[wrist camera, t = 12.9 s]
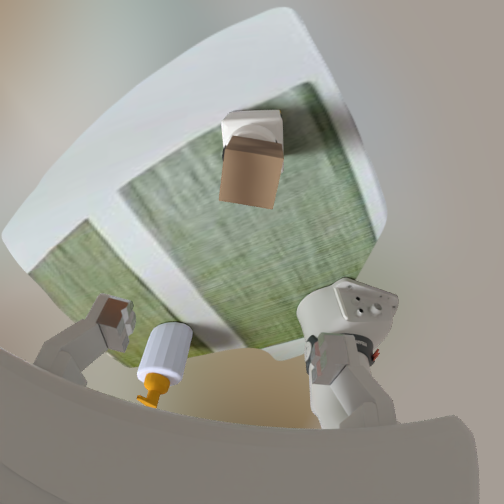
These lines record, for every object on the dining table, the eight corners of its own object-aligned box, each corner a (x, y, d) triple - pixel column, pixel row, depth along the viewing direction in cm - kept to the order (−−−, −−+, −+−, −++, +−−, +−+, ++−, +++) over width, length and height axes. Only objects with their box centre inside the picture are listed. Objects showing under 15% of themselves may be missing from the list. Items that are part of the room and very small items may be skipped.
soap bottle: (178, 315, 62) (155, 394, 46) (201, 335, 66) (185, 411, 50) (143, 330, 67) (119, 399, 51) (165, 347, 71) (147, 415, 55)
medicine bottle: (282, 156, 40) (285, 190, 30) (232, 158, 41) (219, 191, 31) (280, 109, 36) (284, 125, 26) (228, 111, 36) (212, 128, 27)
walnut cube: (281, 143, 27) (283, 158, 23) (272, 187, 30) (272, 209, 26) (232, 135, 27) (225, 148, 23) (226, 179, 30) (218, 200, 26)
